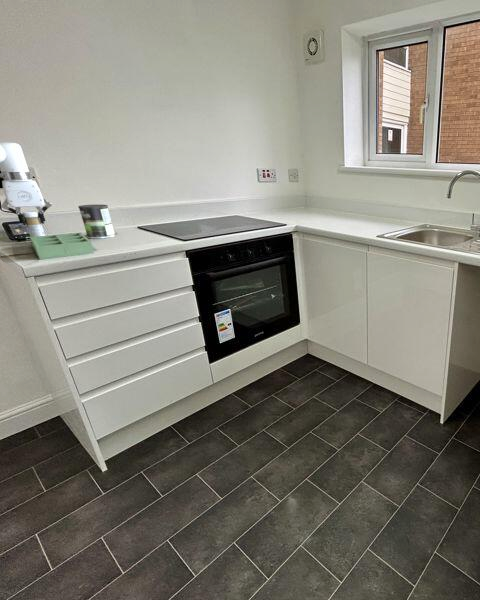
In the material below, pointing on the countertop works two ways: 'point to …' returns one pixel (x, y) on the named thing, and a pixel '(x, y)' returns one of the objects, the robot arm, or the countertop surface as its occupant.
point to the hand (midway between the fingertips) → (33, 223)
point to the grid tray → (61, 245)
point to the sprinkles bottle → (33, 223)
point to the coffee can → (97, 221)
